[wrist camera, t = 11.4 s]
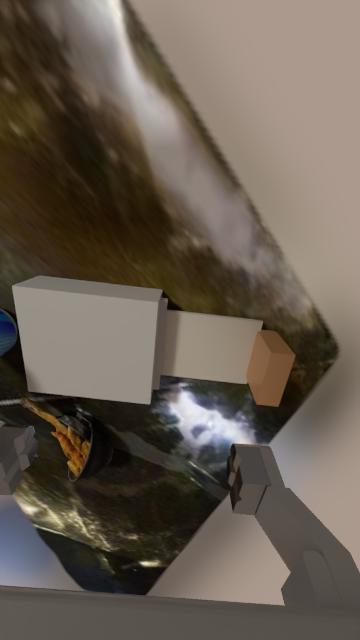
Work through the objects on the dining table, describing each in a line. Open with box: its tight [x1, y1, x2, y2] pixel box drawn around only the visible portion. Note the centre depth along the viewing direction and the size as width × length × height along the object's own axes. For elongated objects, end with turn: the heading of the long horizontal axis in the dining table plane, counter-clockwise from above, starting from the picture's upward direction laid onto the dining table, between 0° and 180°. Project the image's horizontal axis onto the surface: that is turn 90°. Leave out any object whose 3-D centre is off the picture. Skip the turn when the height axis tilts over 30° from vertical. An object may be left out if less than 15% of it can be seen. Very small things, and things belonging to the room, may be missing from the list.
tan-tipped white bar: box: [161, 310, 296, 407], centre depth 34 cm, size 11×22×7 cm, turn 84°
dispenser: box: [12, 276, 168, 404], centre depth 36 cm, size 16×19×6 cm
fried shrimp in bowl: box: [19, 397, 114, 482], centre depth 42 cm, size 9×11×18 cm
